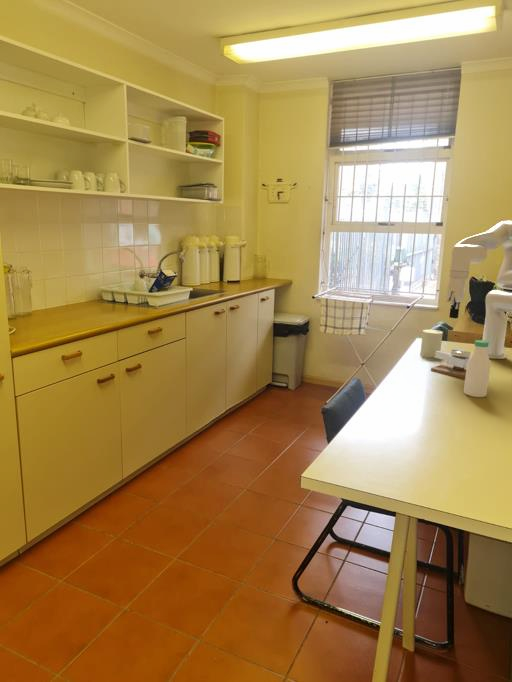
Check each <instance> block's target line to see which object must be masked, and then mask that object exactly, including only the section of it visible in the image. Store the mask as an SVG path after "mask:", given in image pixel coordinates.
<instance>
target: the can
mask: <svg viewBox="0 0 512 682" xmlns="http://www.w3.org/2000/svg"><path fill="white" fill-rule="evenodd" d="M443 334H444V331H442V330H438V329H437V330H436V329H423V330H422V336H421V345H420V353H419V354H420V356H422V357H425V358H426V357H427V358H435V351H442V349H441V348H442V342H443V341H442V340H443Z"/></svg>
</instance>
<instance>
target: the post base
mask: <svg viewBox="0 0 512 682" xmlns="http://www.w3.org/2000/svg"><path fill="white" fill-rule="evenodd" d="M454 357H455V356H454ZM458 358H461V357H458ZM466 369H467V367H464V368H461V367H457V366H453V365H449V364H447V362H446V363H443V364H439V365H436V366H435V365H434V366H433V367H431V368H430V371H431V372H436V373H439V374H443V375H447V376H451V377H454V378H458V379H462V380H465V377H466Z"/></svg>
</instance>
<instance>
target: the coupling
mask: <svg viewBox="0 0 512 682" xmlns="http://www.w3.org/2000/svg"><path fill="white" fill-rule="evenodd" d="M450 352H451V353H450ZM450 352H446V351H442V350H441V351H435V357H434V359H438V360H442V361H446V363H447V364H449V365H453V366H457V367H461V368H464V367H467V363H468V360H469V358H470V356H471V352H470V351H468V350H464V349H455V348H453V349H452V350H451V351H450ZM454 356H455V357H454ZM458 357H461V358H458Z"/></svg>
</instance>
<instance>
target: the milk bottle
mask: <svg viewBox="0 0 512 682" xmlns="http://www.w3.org/2000/svg"><path fill="white" fill-rule="evenodd" d="M488 345H489V342H487V341H483V339H476V340H474V345H473V346H474V347H473V348H474V349H473V351H472V353H471V354H470V358H469V360H468V363H467V369H466V377H465V379H464V385H463V386H464V387H463V393H464V395H467V396H468V397H472V398H473V397H474V398H484V397H486V396H487V393H488V387H489V380H490V379H489V378H490V371H491V362H490V360H491V359H490V358H489V357H488V353H487V348H488Z"/></svg>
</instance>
